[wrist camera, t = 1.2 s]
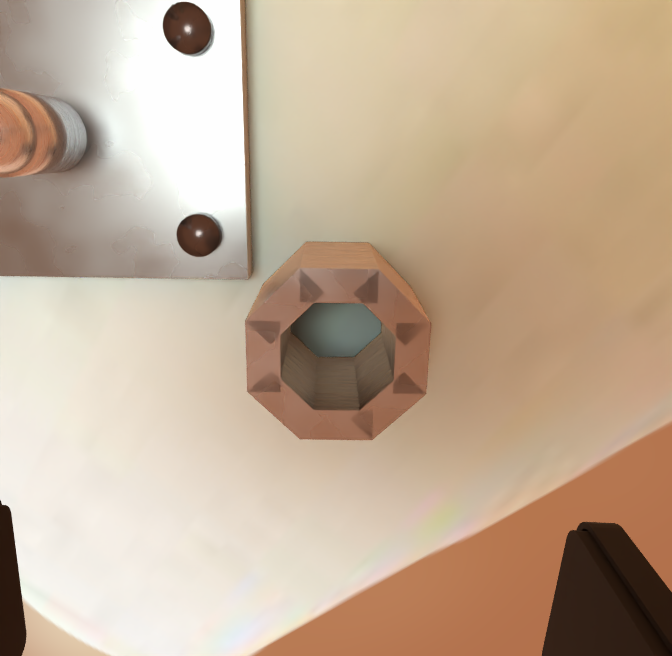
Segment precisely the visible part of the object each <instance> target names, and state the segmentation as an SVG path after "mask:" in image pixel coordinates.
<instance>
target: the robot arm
mask: <svg viewBox="0 0 672 656" xmlns="http://www.w3.org/2000/svg"><path fill="white" fill-rule="evenodd" d="M25 643H26V626H25V618H24V611H23V602H22V595H21V587H20V579H19V571H18V563H17V555H16V548H15V540H14V532H13V524H12V516H11V511H10V508H9V507H8V506H6V505H2V504H1V501H0V656H22V653H23V650H24V647H25ZM542 656H672V592H671V591H670V590H669V588H668V587H667V586H666V585H665V583H664V582H663V581H662V579H661V578H660V577H659V575H658V574H657V573H656V571H655V570H654V569H653V567H652V566H651V565H650V564H649V562H648V561H647V560H646V558H645V557H644V556H643V554H642V553H641V552H640V550H639V549H638V548H637V547H636V545H635V544H634V543H633V542H632V540H631V539H630V537H629V536H628V535H627V533H626V532H625V531H624V530H623V528H622V527H621V526H619V525H618V524H615V523H597V522H582V523H580V525H579V526H578V528H577V530H572V531H570V532H569V533H568V536H567V539H566V544H565V548H564V553H563V557H562V562H561V567H560V572H559V576H558V581H557V586H556V590H555V595H554V600H553V604H552V609H551V613H550V618H549V623H548V627H547V632H546V637H545V641H544V647H543V651H542Z"/></svg>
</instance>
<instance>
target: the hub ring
mask: <svg viewBox="0 0 672 656" xmlns="http://www.w3.org/2000/svg"><path fill="white" fill-rule="evenodd" d="M313 303H363V304H364V305H365V306H366V307H367V308H368V309H369V310H370V311H371V312H372V313H373V314H374V315H375V316H376V317H377V318H378V319H379V320H380V321H381V333H380V334H379V335H378V336H377V337H376V338H375V339H374V340H373V341H371V342H370V343H369V344H368V345H367V346H366V347H365V348H364V349H363V350H361V351H360V352H359V353H358V354H357V355H356V356H355V357H317V356H316V355H315V354H314V353H313V352H312V351H311V350H310V349H309V348H307V347H306V346H305V345H304V344H303V343H302V342H301V341H300V340H299V339H298V338H297V337H296V336H295V335H294V334H293V333H292V332H291V324H292V323H293V322H294V321H295V320H296V319H297V318H298V317H300V316H301V315H302V314H303V313H304V312H305V311H306V310H307V309H308V308H309V307H310V306H311V305H312V304H313ZM245 327H246V359H247V391H248V393H250V394H251V395H252V396H253V397H254V398H255V399H256V400H257V401H258V402H259V403H261V404H262V405H263V406H264V407H265V408H266V409H267V410H268V411H269V412H271V413H272V414H273V415H274V416H275V417H276V418H277V419H278V420H279V421H280V422H282V423H283V424H284V425H285V426H286V427H287V428H288V429H289V430H290V431H292V432H293V433H294V434H295V435H296V436H297V437H298V438H299V439H327V440H373V439H374V438H375V437H376V436H377V435H378V434H380V433H381V432H382V431H383V430H384V429H386V428H387V427H388V426H389V425H390V424H391V423H393V422H394V421H395V420H396V419H397V418H398V417H400V416H401V415H402V414H403V413H404V412H405V411H407V410H408V409H409V408H410V407H411V406H413V405H414V404H415V403H416V402H417V401H418V400H420V399H421V398H422V397H423V396H424V395H425V394H426V388H427V374H428V359H429V345H430V331H431V323H430V321H429V319H428V317H427V315H426V314H425V312H424V310H423V308H422V306H421V305H420V303H419V301H418V299H417V297H416V296H415V294H414V292H413V290H412V288H411V287H410V285H409V284H408V283H407V282H406V281H405V280H404V279H403V278H402V277H401V276H400V275H399V274H398V273H397V272H396V271H395V270H394V269H393V267H392V266H391V265H390V264H389V263H388V262H387V261H386V260H385V259H384V258H383V257H382V256H381V255H380V254H379V253H378V252H377V251H376V250H375V249H374V248H373V246H372V245H371V244H370V243H364V242H306V243H304V244H303V245H302V246H301V247H300V248H299V249H298V250H297V251H296V252H295V253H294V254H293V255H292V256H291V257H290V258H289V259H288V260H287V261H286V262H285V263H284V264H283V265H282V266H281V267H280V268H279V269H278V270H277V271H276V272H275V273H274V274H273V275H272V276H271V277H270V278H269V279H268V280H267V281H266V282H265V283H264V284H263V285H262V287H261V289H260V292H259V294H258V296H257V298H256V300H255V302H254V304H253V306H252V308H251V310H250V312H249V314H248V316H247V318H246V320H245Z"/></svg>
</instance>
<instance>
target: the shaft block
mask: <svg viewBox="0 0 672 656" xmlns="http://www.w3.org/2000/svg"><path fill="white" fill-rule="evenodd" d="M251 274H252V242H251V205H250V168H249V131H248V95H247V58H246V21H245V0H0V276H47V277H113V278H179V279H245V280H248V279H249V277H250V275H251Z"/></svg>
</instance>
